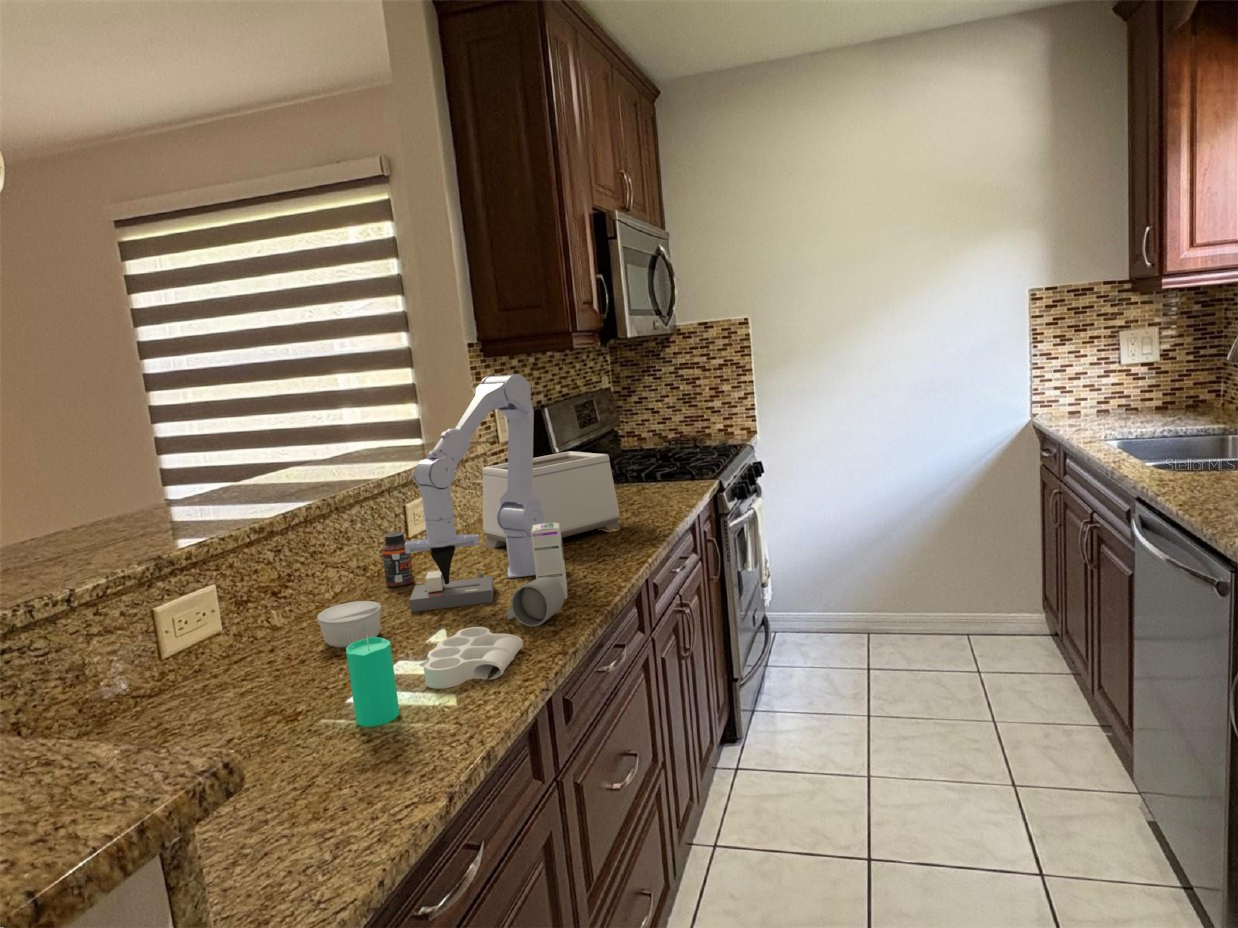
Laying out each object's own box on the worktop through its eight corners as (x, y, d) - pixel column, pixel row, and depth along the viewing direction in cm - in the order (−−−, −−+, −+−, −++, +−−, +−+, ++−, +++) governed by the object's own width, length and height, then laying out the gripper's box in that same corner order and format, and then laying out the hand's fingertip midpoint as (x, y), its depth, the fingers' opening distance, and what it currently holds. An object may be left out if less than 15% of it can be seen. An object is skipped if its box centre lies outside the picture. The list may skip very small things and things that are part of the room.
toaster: (631, 527, 213) (625, 451, 209) (524, 557, 191) (515, 473, 188) (587, 519, 227) (581, 448, 224) (483, 546, 206) (474, 468, 203)
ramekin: (358, 652, 137) (354, 623, 136) (306, 648, 141) (302, 620, 140) (397, 628, 147) (393, 601, 147) (348, 625, 151) (344, 599, 151)
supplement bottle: (406, 587, 173) (399, 537, 172) (381, 588, 175) (374, 538, 173) (418, 579, 179) (412, 530, 178) (394, 579, 181) (387, 531, 179)
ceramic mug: (569, 612, 148) (564, 572, 147) (550, 627, 141) (545, 586, 139) (519, 610, 152) (514, 572, 151) (498, 626, 144) (493, 585, 143)
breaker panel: (494, 576, 176) (493, 564, 176) (492, 602, 158) (491, 589, 158) (421, 584, 174) (419, 573, 174) (410, 612, 156) (409, 599, 156)
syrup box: (567, 599, 156) (560, 527, 154) (537, 602, 155) (530, 530, 153) (567, 590, 161) (560, 521, 159) (538, 593, 161) (531, 524, 159)
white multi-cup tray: (495, 691, 117) (403, 691, 120) (529, 644, 135) (448, 645, 137) (493, 669, 117) (400, 670, 119) (527, 625, 134) (445, 627, 137)
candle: (361, 709, 114) (349, 629, 112) (403, 704, 114) (393, 624, 112) (350, 729, 108) (338, 645, 106) (395, 723, 108) (384, 640, 106)
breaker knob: (444, 583, 164) (442, 570, 163) (442, 590, 159) (440, 576, 158) (429, 585, 163) (427, 571, 163) (427, 592, 158) (425, 578, 158)
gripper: (399, 526, 154) (408, 593, 156) (474, 517, 156) (482, 584, 158) (404, 518, 161) (412, 583, 163) (476, 510, 163) (483, 574, 165)
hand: (447, 583), depth 161 cm, fingers closed
